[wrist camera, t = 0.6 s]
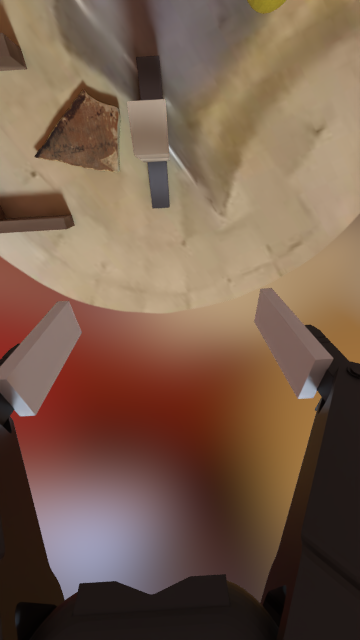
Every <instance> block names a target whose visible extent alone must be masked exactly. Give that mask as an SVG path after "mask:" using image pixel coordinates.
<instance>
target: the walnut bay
mask: <svg viewBox="0 0 360 640" xmlns="http://www.w3.org/2000/svg"><path fill="white" fill-rule="evenodd" d="M21 69H27V68H26V64H25V61H24V58H23V55H22V51H21V49H20V48H19V47H18V46H17V45H16V44H15V43H14V42H12V41H11V40H10V39H9V38H8V37H7V36H6V35H4V34H3V33H0V71H4V70H21ZM72 226H74V222H73V218H72V215H61V216H45V217H28V218H11V219H6V216H5V214H4V212H3V210H2V208H1V206H0V233H10V232H27V231H44V230H60V229H68V228H70V227H72Z"/></svg>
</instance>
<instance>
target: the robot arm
mask: <svg viewBox="0 0 360 640" xmlns="http://www.w3.org/2000/svg"><path fill="white" fill-rule="evenodd" d="M255 324H256V325H257V327H258V329H259V331H260V332H261V334H262V336H263V338H264V340H265V341H266V343H267V345H268V347H269V348H270V350H271V352H272V354H273V355H274V357H275V359H276V361H277V363H278V364H279V366H280V368H281V370H282V372H283V373H284V375H285V377H286V379H287V381H288V382H289V384H290V386H291V388H292V389H293V391H294V393H295V394H296V396H297V398H298V399H302V398H313V397H314V395H315V393H316V391H318V392H319V393H320V395H321V396H322V398H321V399H320V401H319V403H318V405H317V407H316V408H315V410H316V411H317V412H316V416H315V419H314V423H313V427H312V430H311V434H310V437H309V441H308V445H307V448H306V452H305V455H304V459H303V462H302V466H301V470H300V473H299V477H298V481H297V484H296V488H295V491H294V495H293V498H292V503H291V506H290V509H289V513H288V516H287V520H286V524H285V527H284V531H283V535H282V538H281V542H280V545H279V549H278V552H277V555H276V557H275V560H274V562H273V564H272V566H271V569H270V572H269V575H268V578H267V581H266V585H265V588H264V592H263V595H262V599H261V602H260V603H259V602H258V600H257V599H256V598H254V597H253V596H252V595H251V594H250V593H249V592H247V591H246V590H245V589H244V588H242V587H240V586H239V585H237V584H235V583H233V582H231V581H228V580H226V575H225V574H224V575H207V576H191V577H188V578H186V579H184V580H182V581H180V582H178V583H176V584H174V585H172V586H170V587H168V588H166V589H164V590H162V591H160V592H158V593H156V594H153V595H150V594H147V593H144V592H142V591H139V590H137V589H134V588H131V587H129V586H126V585H124V584H121V583H118V582H116V581H112V582H96V583H80V584H79V589H78V592H77V593H75V594H74V595H72V596H71V597H69V598H68V599H66V600H64V596H63V593H62V590H61V587H60V584H59V582H58V580H57V578H56V577H55V575H54V574H53V572H52V570H51V568H50V566H49V563H48V559H47V555H46V551H45V547H44V543H43V539H42V535H41V531H40V527H39V523H38V519H37V515H36V511H35V507H34V503H33V499H32V495H31V491H30V487H29V483H28V479H27V474H26V470H25V466H24V463H23V459H22V454H21V451H20V447H19V443H18V438H17V434H16V430H15V427H14V422H13V420H12V418H11V417H10V415H11V413H12V412H13V410H15V411H16V412H17V413H18V414H19V416H32V415H36V414H37V412H38V410H39V408H40V406H41V405H42V403H43V401H44V399H45V397H46V396H47V394H48V392H49V390H50V388H51V387H52V385H53V383H54V381H55V380H56V378H57V376H58V374H59V372H60V371H61V369H62V367H63V365H64V363H65V362H66V359H67V358H68V356H69V354H70V352H71V351H72V349H73V347H74V346H75V344H76V342H77V340H78V338H79V337H80V335H81V333H82V332H81V329H80V327H79V325H78V322H77V320H76V317H75V315H74V312H73V310H72V308H71V305H70V303H69V301H60V302H57V303H56V304H55V305H54V306H53V307H52V309H51V310H50V311H49V312H48V313H47V314H46V315H45V317H44V318H43V319H42V320H41V321H40V322H39V323H38V324H37V326H36V327H35V328H34V329H33V330H32V331H31V333H30V334H29V335H28V336H27V337H26V338H25V339H24V341H22V343H21V344H17V345H16V346H14V347H13V348H11V349H10V350H9V351H8V352H7V353H6V354H5V355H4V356H3V357H2V359H0V640H360V364H359V363H354V362H349V361H348V360H347V358H346V357H345V356H344V355H343V354H342V353H341V352H340V351H339V350H338V349H337V348H336V347H335V346H334V345H333V344H332V343H330V341H329V340H328V338H326V337H325V335H324V334H323V333H322V332H321V331H320V330H319V329H317V328H315V327H314V326H312V325H304V324H303V323H302V322H301V321H300V320H299V319H298V318H297V316H296V315H295V314H294V313H293V312H292V311H291V310H290V309H289V307H288V306H287V305H286V304H285V303H284V302H283V300H282V299H281V298H280V297H279V296H278V295H277V294H276V293H275V292H274V290H273V289H272V288H267V289H260V294H259V299H258V305H257V310H256V315H255Z"/></svg>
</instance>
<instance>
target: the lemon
mask: <svg viewBox="0 0 360 640" xmlns="http://www.w3.org/2000/svg"><path fill="white" fill-rule="evenodd" d="M247 1H248V3H249V4H250V6H251V7H252V8H253V9H254V10H255V11H256V12H259V13H263V14H264V13H270V12H272V11H274V10H276V9H277V8H279V7H280V6H281V5H282V4H283V3H284V2H285V1H286V0H247Z"/></svg>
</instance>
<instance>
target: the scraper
mask: <svg viewBox="0 0 360 640" xmlns="http://www.w3.org/2000/svg"><path fill="white" fill-rule="evenodd" d="M136 60H137V69H138V79H139V88H140V97H141V101H127V106H128V114H129V121H130V129H131V136H132V143H133V151H134V156H136V157H137V158H139V159H140V160H142V161H143V162H148V171H149V180H150V189H151V198H152V208H168V207H170V204H169V189H168V174H167V161H169V145H168V129H167V113H166V99H162V85H161V71H160V59H159V56H146V57H136Z"/></svg>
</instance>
